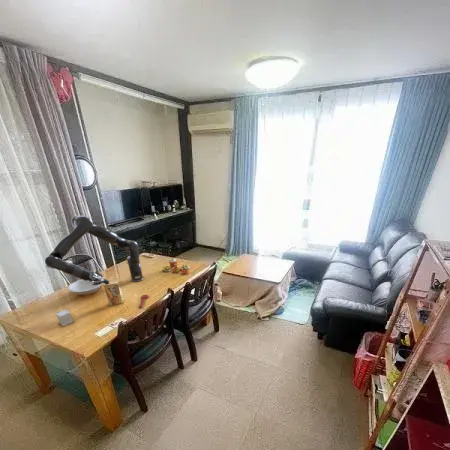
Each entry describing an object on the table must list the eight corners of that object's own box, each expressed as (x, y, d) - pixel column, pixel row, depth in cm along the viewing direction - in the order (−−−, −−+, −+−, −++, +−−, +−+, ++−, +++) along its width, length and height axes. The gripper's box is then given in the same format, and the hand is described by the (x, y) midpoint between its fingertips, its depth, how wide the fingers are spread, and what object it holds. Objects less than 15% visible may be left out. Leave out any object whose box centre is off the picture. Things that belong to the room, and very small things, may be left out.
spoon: (142, 296, 189) (142, 294, 188) (148, 295, 189) (148, 294, 188) (137, 308, 174) (136, 306, 173) (143, 307, 174) (143, 306, 173)
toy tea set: (161, 271, 229) (159, 261, 224) (170, 265, 242) (169, 255, 237) (186, 275, 220) (185, 265, 216) (195, 269, 233) (194, 259, 228)
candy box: (122, 300, 183) (117, 281, 176) (122, 303, 180) (118, 283, 173) (109, 303, 180) (103, 283, 173) (109, 306, 177) (104, 286, 169)
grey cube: (73, 322, 160) (69, 312, 156) (62, 326, 156) (58, 316, 152) (69, 318, 163) (65, 309, 160) (59, 323, 159) (55, 313, 156)
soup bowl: (110, 291, 196) (108, 283, 193) (77, 303, 181) (74, 295, 178) (97, 282, 211) (94, 275, 208) (65, 293, 196) (63, 285, 192)
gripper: (81, 275, 155) (110, 285, 165) (84, 262, 164) (111, 272, 174) (77, 283, 159) (105, 292, 169) (80, 270, 168) (107, 280, 178)
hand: (108, 282), depth 172 cm, fingers closed
